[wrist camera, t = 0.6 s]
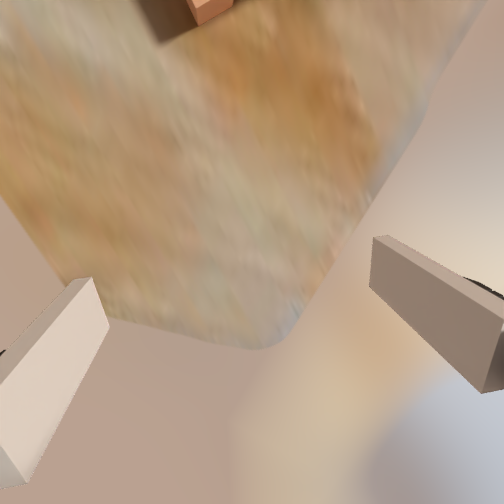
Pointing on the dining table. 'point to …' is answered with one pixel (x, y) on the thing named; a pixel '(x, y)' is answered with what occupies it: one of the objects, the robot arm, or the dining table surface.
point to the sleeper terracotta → (207, 9)
